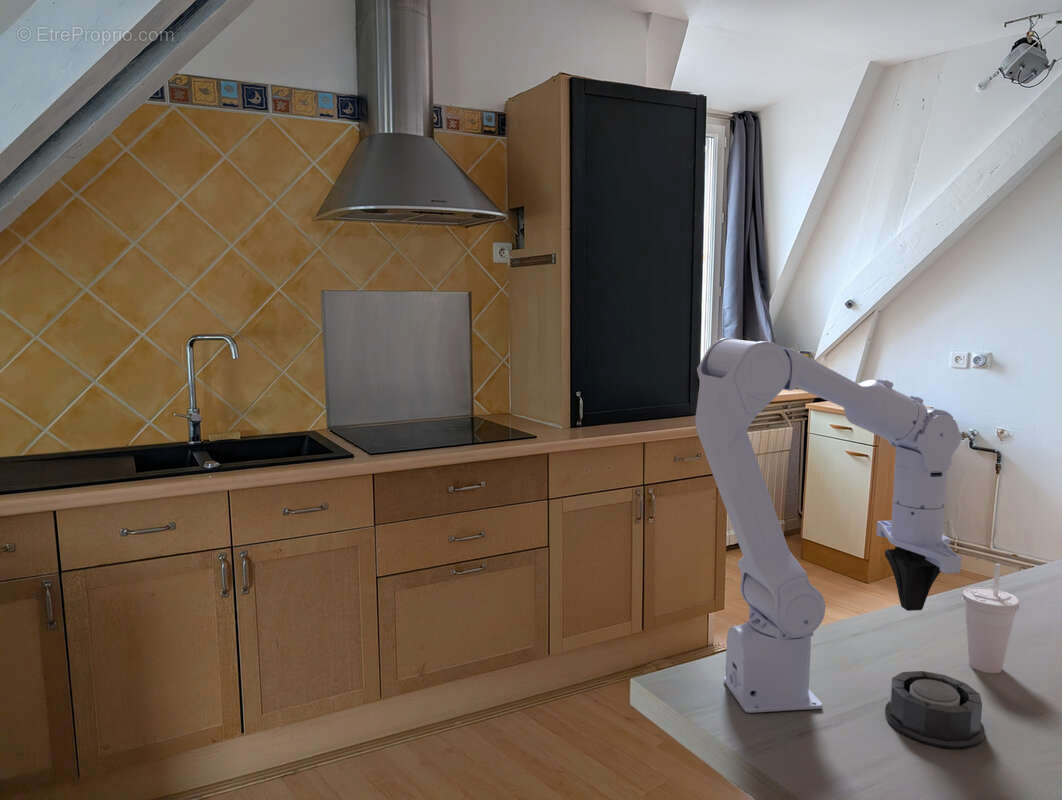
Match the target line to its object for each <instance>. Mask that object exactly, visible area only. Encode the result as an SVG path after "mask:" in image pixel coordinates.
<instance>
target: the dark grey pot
mask: <svg viewBox="0 0 1062 800" xmlns="http://www.w3.org/2000/svg"><path fill="white" fill-rule="evenodd" d="M921 679H929V680H936V681H940V682H943V683H945V684H948V685H950V686H951V687H953V688H954V689H955V690H956V691H957V692H958V694H959V696H960V703H959V706H942V705H937V704H932V703H928V702H925V701H923V700H921V699H918V698H916V697H914V696H912V695H911V694H910V685H911V684H912V683H913V682H914V681H916V680H921ZM890 689H891V690H890V700H889V701H888V702H887V703H886V705H885V709H884V716H885V719H886V721H887V723H888V724H889V725H890V727H892V728H893V729H894V730H895V731H897V732H898V733H899V734H902V735H903V736H904V737H907V738H908V739H910V740H913V741H915V742H917V743H920V744H923V745H926V746H930V747H934V748H939V749H944V750H945V749H946V750H968V749H973V748H976V747H977V746H979V745H981V744H982V743H983V741H985V740H984V739H985V733H986V731H985V726H984V724H983V723H982V711H983V702H982V698H981V694H980V693H979V692H978V691H976V690H975V689H974V688H972V687H971V686H970V685H968V684H967V682H964V681H961V680H959V679H956V678H954V677H950V676H948V675H946V674H940V673H937V672H929V671H923V670H918V671H917V670H915V671H902V672H900V673H898V674H896V675H895V676H893V677H892V678H891V688H890Z"/></svg>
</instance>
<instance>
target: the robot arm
mask: <svg viewBox="0 0 1062 800" xmlns="http://www.w3.org/2000/svg"><path fill="white" fill-rule="evenodd" d="M696 371H697V377H698V379H699V389H698V395H697V403H696V411H695V419H694V425H695V430H696V432H697V436H698V437H699V440H700V443H701V447H702V449H703V451H704V453H705V457H706V460H707V463H708V465H709V467H710V471H711V474H712V476H713V478H714V481H715V484H716V486H717V489H718V492H719V495H720V497H721V500H722V502H723V505H724V508H725V510H726V514H727V516H728V519H729V522H730V524H731V526H732V530H733V533H734V536H735V537H736V540H737V543H738V546H739V548H740V552H741V554H742V557H741V558H740V559H739V560H738V562H737V566H738V568H739V571H740V584H739V587H740V588H739V589H740V594H741V597H742V599H743V600H744V601H745V603H747V604H748V621H745V622H744V623H742V624H739V625H734V626H731V627H729V629H728V631H727V635H726V636H727V637H726V651H725V652H726V653H725V655H726V656H725V657H726V659H725V660H726V662H725V676H723V681H724V683H725V684H726V686H727V687H728V689H729V690H730V692H731V693H732V694H733V696H734V697H735V699H736V701H738V703H739V705H740V706H741V708H742V709H743V711H744V712H746V713H767V712H782V711H783V712H785V711H800V710H814V709H815V710H817V709H820V710H821V709H822V708H823V707H824V705H823V703H822V701H821V700H820V699H819V698H818V697H817V696H816V695H815V694H814V693H813V691H812V690H811V689H810V671H811V670H810V669H811V650H812V648H811V646H812V637H813V636H814V632H815V631H816V630H817V629H818V628H819V627H820V625H822V622H823V620H824V617H825V615H826V614H825V613H826V602H825V599H824V597H823V595H822V593H821V592H820V591H819V590H818V589H817V588H816V587H815V586H813V585H812V584H811V582H810V579H809V578H808V574H807V572H806V570H805V569H804V568H803V567H802V565H801V564H800V562H799V561H798V560H797V559H796V557H795V556H794V555H793V553H792V552H791V551H790V549H789V546H788V544H787V543H788V542H787V541H786V538H785V535H784V531H783V529H782V526H781V524H780V520H779V518H778V515H777V512H776V509H775V505H774V504H773V501H772V498H771V495H770V492H769V490H768V487H767V483H766V481H765V478H764V475H763V473H762V470H761V467H760V465H759V461H758V458H757V456H756V453H755V450H754V448H753V445H752V442H751V439H750V436H749V434H748V429H749V427H750V425H751V424H752V423H753V421H754V419H755V418H756V417H757V416H758V415H759V414H760V413H761V412H762V411H763V410H764V409H765V408H766V407H767V406H768V405H769V404H770V403H771V402H772V401H773V400H774V399H775V398H776V397H777V396H778V395H779V394H780V393H781V392H782V391H783V390H784V391H793V390H796V389H799V390H801V391H804V392H807V393H808V394H812V395H814V396H816V397H818V398H820V399H823V400H825V401H827V402H830V403H832V404H834V405H837V406H839V407H841V408H843V410H844V416H845V418H846V420H847V421H848V422H849V423H851V424H852V425H854V426H857V427H859V428H861V429H863V430H865V431H868V432H870V433H872V434H874V435H876V436H878V437H881V438H882V439H885V440H887V442H888V443H889V445H890V446H892V447H893V448H895V459H894V472H893V473H894V475H893V488H892V489H893V490H892V491H893V492H892V493H893V494H892V507H891V508H892V509H891V520H877V521H876V530H875V531H876V533H875V534H876V536H878V537H880V538H887V540H888V542H889V543H890V544H892V545H893V546H896V547H894V548H893V549H891V548H890V549H889V548H888V549H885V550H884V556H885V558H886V560H887V561H888V564H889V566H890V568H891V570H892V573H893V577H894V580H895V584H896V587H897V592H898V593H897V594H898V598H899V603H900V606H901V608H902V609H904V610H906V611H908V612H909V611H911V612H912V611H922V610H923V608H924V606H925V603H926V600H927V598H928V595H929V593H930V590H931V587H932V586H933V584H934V582H935V581H936V579H937V577H938V576H939V574H941V573H943V574H959V573H961V572H962V571H961V569H962V556H960V555H958V554H957V553H956V552H954V550H952V547H950V546H949V544H951V538H950V537H949V536H946V535H944V533H943V532H944V520H945V519H944V517H945V504H946V492H947V480H948V479H947V475H948V470H949V469H950V467H951V466H952V459H953V455H954V453H955V452H956V451H957V449H958V448H959V445H960V444H961V441H962V437H963V432H962V431H959V426H958V423H957V421H956V420H955V419H954V417H953V415H952V414H951V413H950V412H948V411H945V410H943V409H938V408H931V407H928V406H926V405H925V404H924V399H923V398H921V397H919V396H916V395H911V396H907V395H906V394H904V393H901V392H900V391H897V390H895V389H893V386H894V382H892V381H889V380H888V379H884V378H877V379H876V380H875V379H866V380H863V381H861V382H858V383H857V382H855V381H853V380H851V379H849V378H848V377H846V376H845V375H843V374H841V373H838V372H837V371H835V370H833V369H831V368H829V367H827V366H826V365H824V364H822V363H820V362H818V361H817V360H815V359H813V358H811V357H809V356H807V355H805V354H803V353H801V352H800V351H799V352H798V351H796V350H794V349H790V348H788V347H782V346H780V345H778V344H777V343H774V342H773V341H772V342H771V341H765V340H764V341H753V340H743V339H739V338H736V337H724V338H720V339H718V340H716V341H714V342H713V343H712V344H711V345H710V346H709V347H708V349H707V350H706V352H705V354H704V356H703V357H702V359H701V361H700V362H699V364H698V366H697V368H696Z"/></svg>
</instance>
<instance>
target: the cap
mask: <svg viewBox="0 0 1062 800" xmlns="http://www.w3.org/2000/svg"><path fill="white" fill-rule="evenodd" d="M910 694H911V695H912V696H914V697H916V698H918V699H921V700H923V701H925V702H928V703H932V704H937V705H942V706H959V703H960V696H959V694H958V692H957V691H956V690H955V689H954V688H953V687H951V686H950V685H948V684H945V683H943V682H940V681H936V680H929V679H921V680H916V681H914V682H913V683H912V684H911V685H910Z"/></svg>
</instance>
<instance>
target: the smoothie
mask: <svg viewBox="0 0 1062 800" xmlns="http://www.w3.org/2000/svg"><path fill="white" fill-rule="evenodd" d="M1000 575H1001V564H1000V563H995V566H994V577H993V578H994V579H993V588H991V587H990V588H989V587H983V586H982V587H981V586H980V587H979V586H977V587H968V588H965V589H963V591H962V597H961V600H962V601H963V602H964V610H965V622H966V623H965V624H966V639H967V652H968V664H969V666H970V667H971V668H972V669H975V670H976V671H979V672H982V673H987V674H998V673H1001V672H1002V670H1003V666H1004V662H1005V657H1006V654H1007V649H1008V646H1009V640H1010V637H1011V633H1012V628H1013V624H1014V621H1015V618H1016V617H1015V615H1016V612H1018V611H1019V610H1020V599H1019V598H1017V596H1015V595H1013V594H1011V593H1010V592H1007V591H1004V590H1000V589H999V588H1000V587H999V586H1000Z"/></svg>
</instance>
